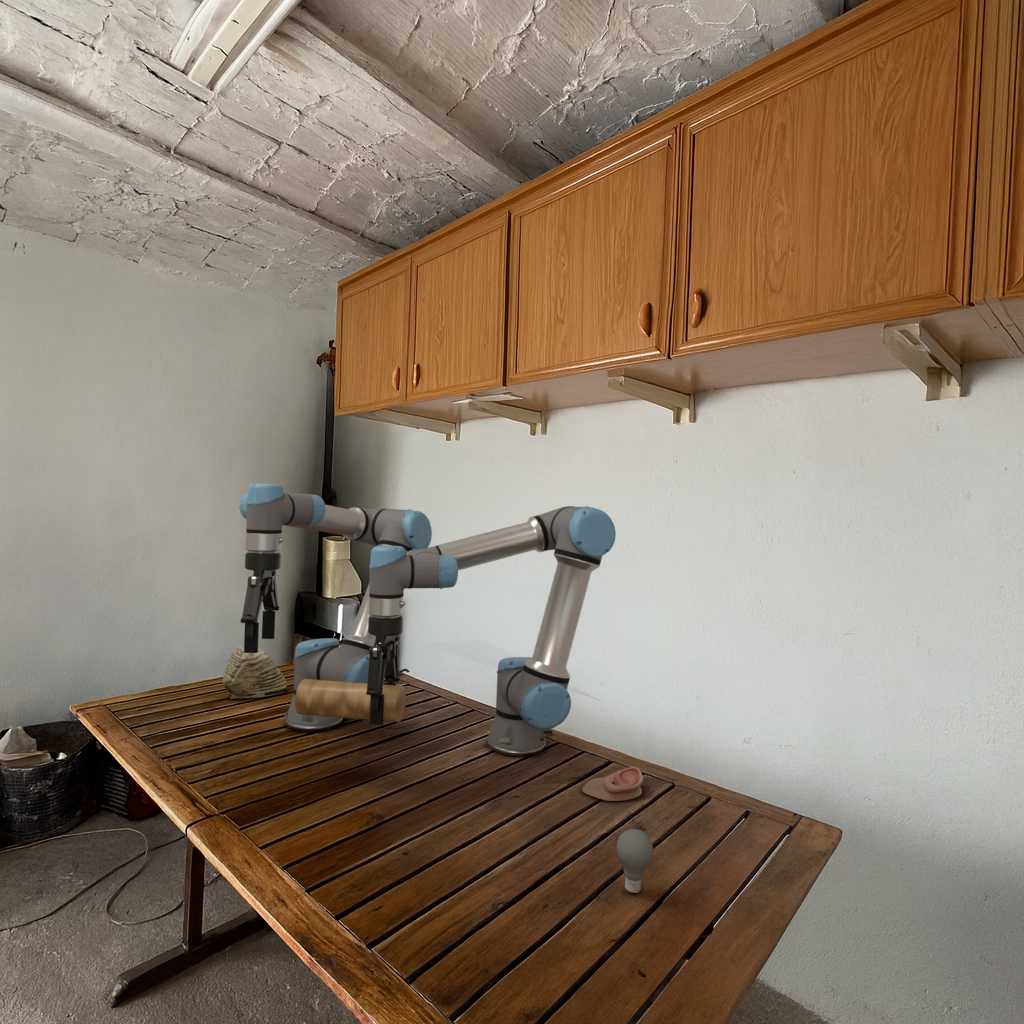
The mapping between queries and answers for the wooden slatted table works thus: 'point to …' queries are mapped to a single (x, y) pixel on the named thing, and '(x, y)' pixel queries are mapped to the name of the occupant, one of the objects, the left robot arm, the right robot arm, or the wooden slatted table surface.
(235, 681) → the fossil
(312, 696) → the tan wooden cylinder
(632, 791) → the anatomical model
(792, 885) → the wooden slatted table surface
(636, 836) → the light bulb
